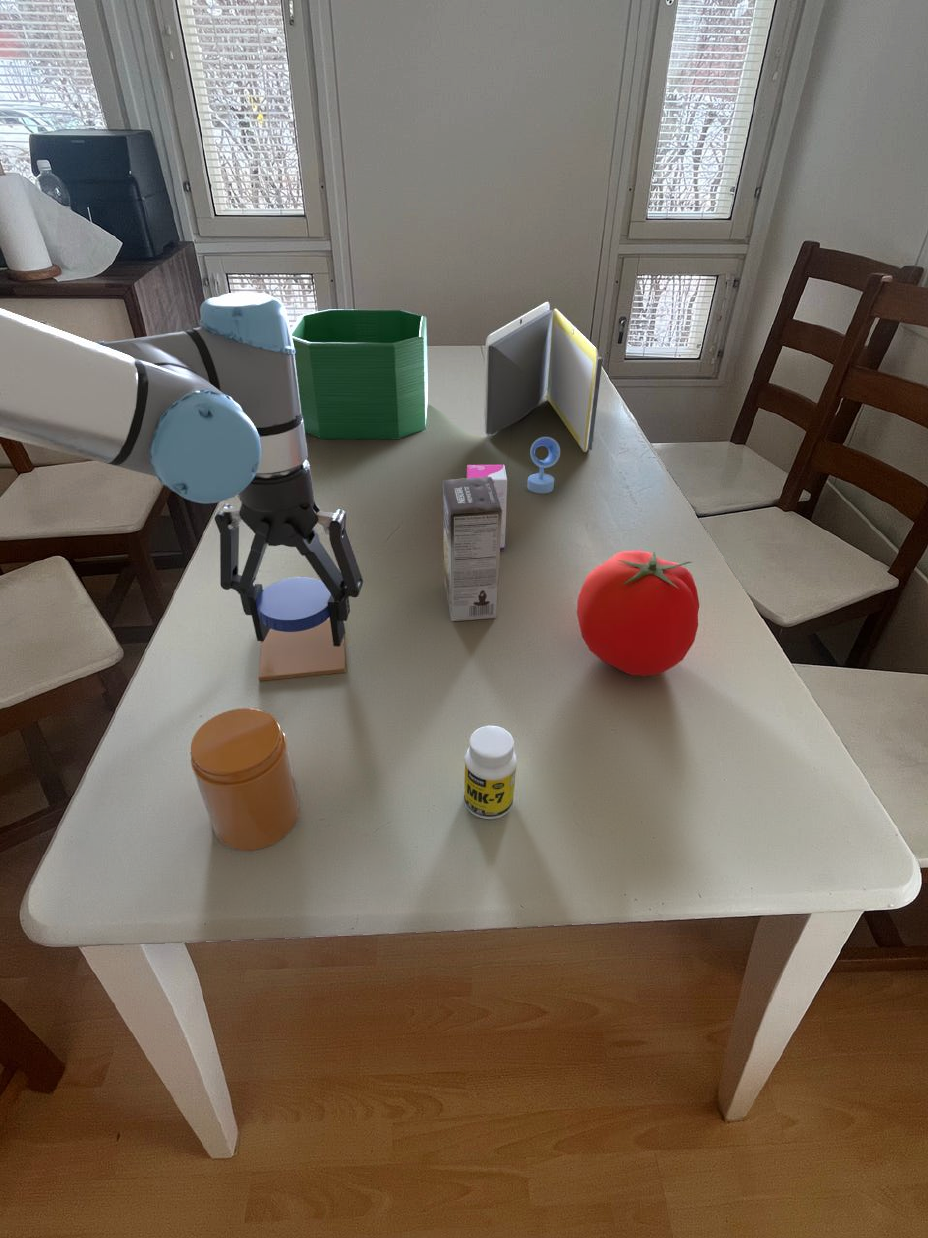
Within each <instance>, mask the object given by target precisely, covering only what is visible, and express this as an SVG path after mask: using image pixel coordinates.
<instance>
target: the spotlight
mask: <svg viewBox="0 0 928 1238" xmlns="http://www.w3.org/2000/svg"><path fill="white" fill-rule="evenodd" d="M539 447H545V448H546V449H547V451H548V455H547V456H546V458H545V459H538V458H537V457H536V450H537V449H538V448H539ZM529 456H530V459H531V461H532V462H533V464H534V465H536V466H537V467H539V471H538V472H536V473H532V474H530V475H529V476H528V477H527V483H526V485H527V489H528V491H530V492H532V493H535V494H548V493H551V492H552V491H553V490H554V485H555V478H554V477H553V476H552V475H551V474H548V473H545V468H547V469H548V468H550V467H553V466H554V465H555V464H557V462H558V461H559V459H560V457H561V448H560V445H559V443H558V442H557V440H555V439H554V438H553V437H550V436H541V437H539V438H537V439H536V440H535V441H533V443H532V444H531V446H530V450H529Z"/></svg>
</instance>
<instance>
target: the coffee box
mask: <svg viewBox="0 0 928 1238" xmlns="http://www.w3.org/2000/svg"><path fill="white" fill-rule="evenodd" d="M442 513H443V515H442V517H443V519H442V520H443V521H442V522H443V523H442V525H443V582H444V588H445V594H446V599H447V600H446V601H447V605H448V610H449V611H448V612H449V618H450V621H451V622H460V621H461V622H462V621H472V620H473V621H474V620H485V619H486V620H487V619H496V618H497V617H498V599H499V597H498V596H499V595H498V594H499V578H500V577H499V575H500V562H501V561H500V559H501V558H500V557H501V551H500V545H501V525H502V508H501V504H500V502H499V499H498V495H497V492H496V489H495V486H494V483H493V480H492V478H491V477H480V478H467V477H465V478H463V477H462V478H456V479H443V480H442Z"/></svg>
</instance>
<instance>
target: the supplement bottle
mask: <svg viewBox="0 0 928 1238" xmlns="http://www.w3.org/2000/svg"><path fill="white" fill-rule="evenodd" d="M516 773H517V755H516V752H515V741H514V738H513V736H512V734H511V733H510V732H509V731H508V730H507V729H505V728H503V727H500V726H496V725H485V726H482V727H479V728H477V729H476V730H475V731H473V733H472V734H471V736H470V738H469V746H468V748H467V750H466V752H465V756H464V776H463V777H464V779H463V781H464V782H463V801H464V805H465V807H466V809H467V810H468V812H470V813H471V814H472V815H474V816H475V817H477V818H479V819H483V820H494V819H499V818H502V817H504V816H505V815H506V814H507V813H508V812H509V811H510V810H511V808H512V806H513V803H514V796H515V795H514V793H515V785H516V775H517V774H516Z"/></svg>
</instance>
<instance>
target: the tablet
mask: <svg viewBox="0 0 928 1238" xmlns="http://www.w3.org/2000/svg"><path fill="white" fill-rule="evenodd" d="M550 307H551V306H550V302H549V301H546V302H544V303H541V304H540V305H539V306H537V307H535V308H534V309H531V310H530V311H528V312H526V313H524V314H523V315H521V316H519V317H517V318H516V319H514V320H512V321H510V322H509V323H507V324H506V325H504V326H502V327H500V328H499V329H497V330H494V331H493V332H492V333H490V334H488V335H487V336H486V339H485V353H484V355H485V356H484V357H485V358H484V367H485V368H484V403H483V405H484V406H483V407H484V409H483V434H484V436H489V435H494V434H496V433H498V432H500V431H501V430H503V429H505V428H507V427H509V426H511V425H513V424H514V423H517V422H519V421H520V420H521V419H523V418H524V417H525V416H526V415H528V414H529V413H530V412H532V410H533V409H535V408H536V407H537V406H538V405H539V404H540V402H541V401H542V399H543V397H544V396H545V394H546V398H547V400H548V402H549V403H550V405H551V407H552V408H553V409H554V410H555V412H556V413H557V415H558V416H559V418H560V419H561V421H562V423H563V424H564V425H565V426H566V428H567V430H568V431H569V432H570V434H571V436H572V437H573V439H574V440H575V441H576V443H577V444H578V446H579V447H580V449H581V450H582V452H584V453H585V452H587V451H591V450H592V449H593V441H594V435H595V426H596V416H597V409H598V401H599V392H600V383H601V376H602V367H603V358H602V357H601V356H600V355H599V350H598V349H597V347H596V346H595V345H594V344H593V343H591V341H590V340H589V339H587V338H586V336H585V335H584V334H582V333H581V331H579V330H578V329H577V327H576V326H575V325H573V324H572V322H570V320H568V319H567V317H565V316H564V315H563V314H562V313H561V312H560V311H559V310H558V309H557V308H554V309H553V310H552V309H550Z"/></svg>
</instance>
